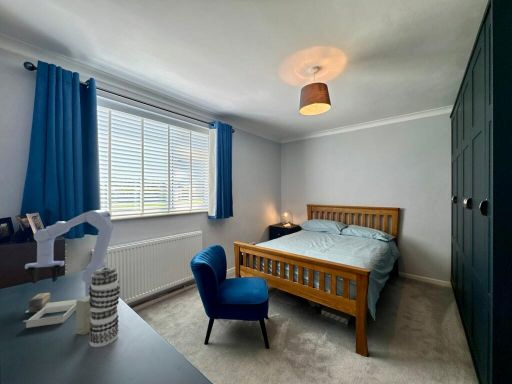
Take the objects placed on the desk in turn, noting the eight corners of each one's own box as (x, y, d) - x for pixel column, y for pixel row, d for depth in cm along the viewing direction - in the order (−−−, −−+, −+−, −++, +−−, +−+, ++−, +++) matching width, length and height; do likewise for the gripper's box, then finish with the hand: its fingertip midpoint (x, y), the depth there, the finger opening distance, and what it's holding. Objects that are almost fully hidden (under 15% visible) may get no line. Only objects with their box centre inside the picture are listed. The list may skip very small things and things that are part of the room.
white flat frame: (78, 307, 100) (78, 299, 100) (60, 325, 86) (60, 316, 86) (46, 311, 96) (46, 302, 96) (22, 330, 82) (22, 321, 82)
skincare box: (84, 335, 80) (85, 302, 80) (74, 333, 80) (75, 300, 81) (100, 325, 86) (100, 294, 86) (91, 324, 87) (91, 293, 87)
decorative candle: (88, 337, 79) (88, 268, 79) (118, 327, 84) (118, 263, 85) (87, 351, 71) (88, 275, 72) (120, 340, 77) (121, 269, 77)
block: (49, 303, 102) (49, 292, 102) (40, 310, 96) (40, 299, 96) (39, 304, 101) (39, 293, 101) (28, 312, 94) (28, 300, 95)
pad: (54, 303, 103) (54, 302, 103) (44, 310, 97) (44, 309, 97) (36, 305, 101) (36, 304, 101) (25, 313, 94) (25, 312, 95)
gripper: (20, 257, 99) (19, 286, 99) (58, 254, 104) (58, 283, 103) (31, 253, 106) (30, 281, 106) (66, 251, 110) (66, 277, 110)
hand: (45, 281), depth 105 cm, fingers open, 7 cm apart
